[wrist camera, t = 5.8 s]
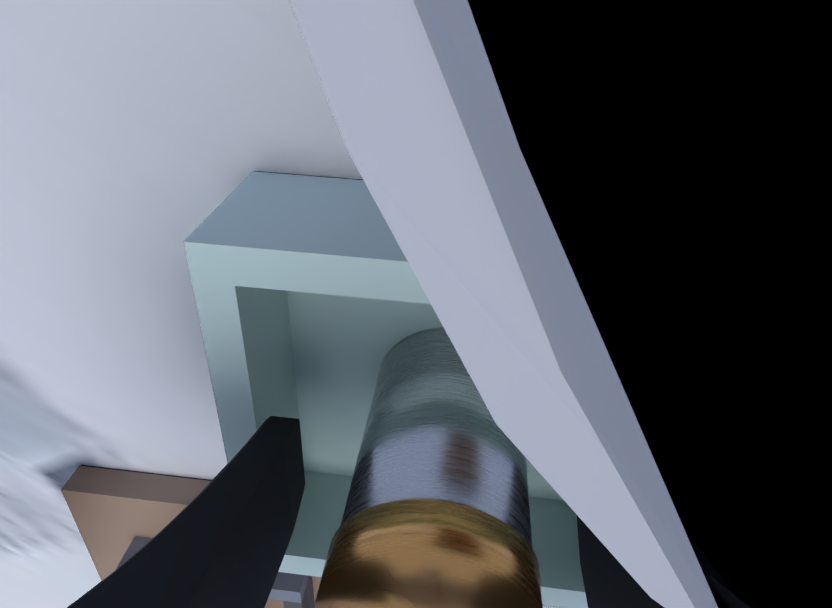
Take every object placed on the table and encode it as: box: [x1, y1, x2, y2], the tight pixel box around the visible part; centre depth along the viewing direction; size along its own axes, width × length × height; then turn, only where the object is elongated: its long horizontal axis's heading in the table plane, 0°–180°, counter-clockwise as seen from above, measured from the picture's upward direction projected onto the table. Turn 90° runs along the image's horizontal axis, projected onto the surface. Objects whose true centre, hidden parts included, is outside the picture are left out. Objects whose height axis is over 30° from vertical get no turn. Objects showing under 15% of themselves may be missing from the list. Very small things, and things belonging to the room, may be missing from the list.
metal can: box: [315, 327, 543, 608], centre depth 12 cm, size 4×4×6 cm
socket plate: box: [61, 466, 321, 608], centre depth 21 cm, size 10×10×2 cm
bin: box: [184, 171, 588, 608], centre depth 14 cm, size 10×10×4 cm
